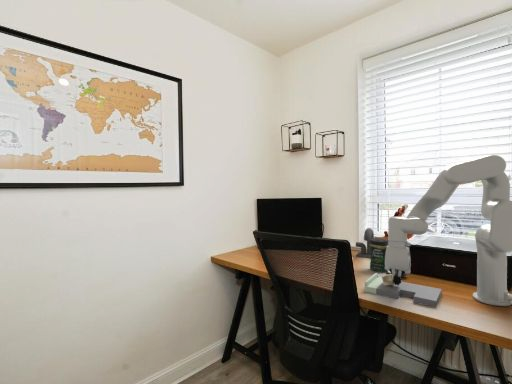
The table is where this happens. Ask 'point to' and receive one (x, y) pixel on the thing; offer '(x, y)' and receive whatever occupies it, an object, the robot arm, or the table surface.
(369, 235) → the faucet
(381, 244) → the coffee jar
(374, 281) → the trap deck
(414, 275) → the table surface
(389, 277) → the maple block
